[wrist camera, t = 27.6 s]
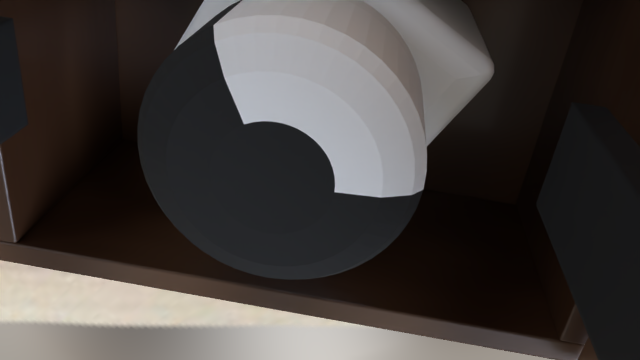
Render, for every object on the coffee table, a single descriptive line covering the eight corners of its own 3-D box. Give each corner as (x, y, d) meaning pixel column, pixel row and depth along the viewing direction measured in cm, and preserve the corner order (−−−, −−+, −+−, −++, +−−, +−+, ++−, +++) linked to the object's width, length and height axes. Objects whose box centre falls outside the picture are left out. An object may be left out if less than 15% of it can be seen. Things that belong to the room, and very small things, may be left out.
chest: (114, 145, 26) (-4, 260, 19) (90, -231, 20) (-113, -290, 12) (525, 213, 25) (577, 364, 18) (653, -158, 18) (829, -171, 11)
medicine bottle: (352, 148, 24) (313, 368, 14) (208, 43, 23) (40, 198, 12) (473, 9, 21) (543, 158, 10) (313, -123, 19) (207, -104, 9)
